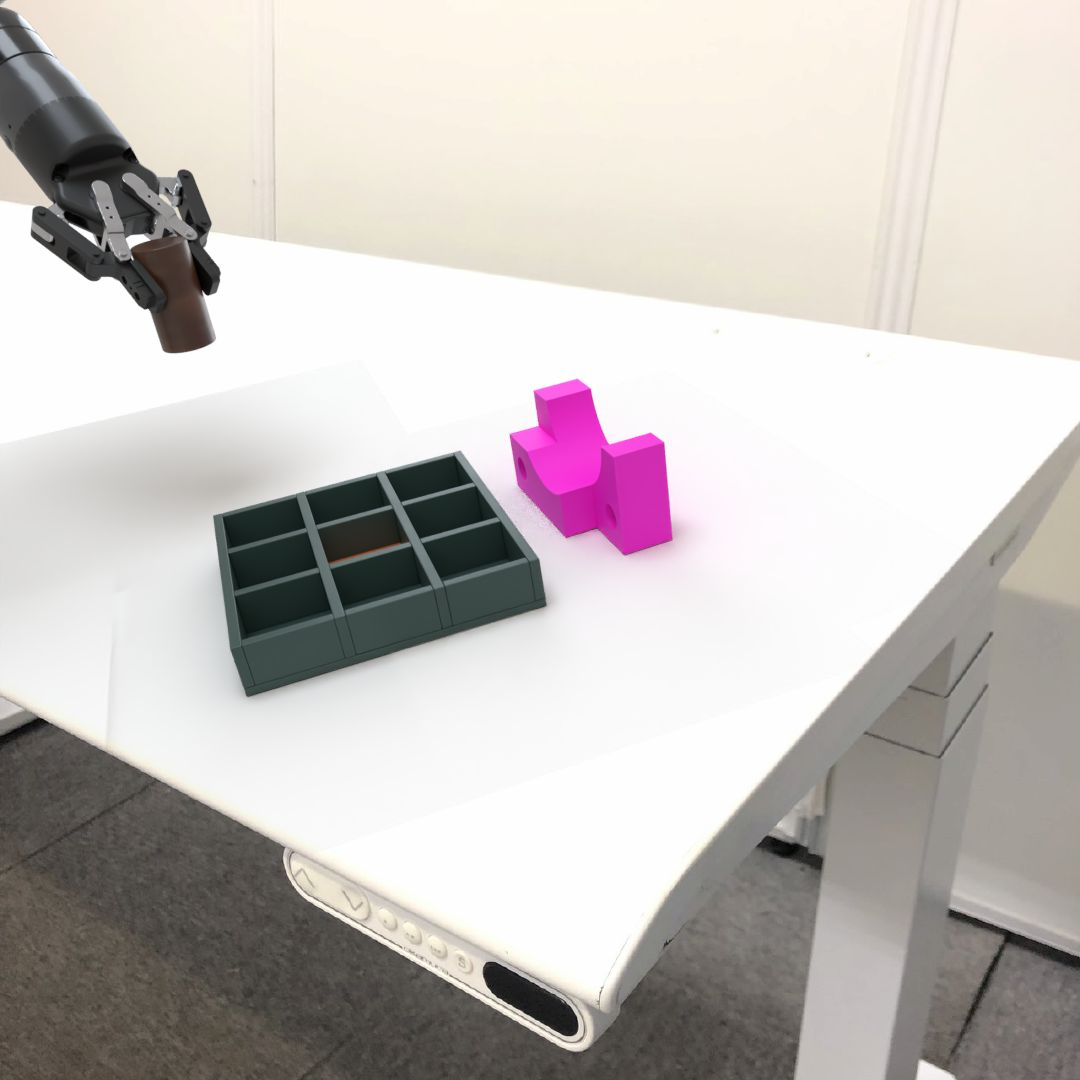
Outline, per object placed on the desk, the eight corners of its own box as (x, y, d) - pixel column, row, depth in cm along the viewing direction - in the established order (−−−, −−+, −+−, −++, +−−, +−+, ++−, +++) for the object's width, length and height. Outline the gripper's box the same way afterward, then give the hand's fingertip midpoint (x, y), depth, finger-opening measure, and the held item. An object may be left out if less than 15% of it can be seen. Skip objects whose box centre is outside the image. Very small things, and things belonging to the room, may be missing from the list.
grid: (246, 697, 63) (229, 649, 61) (226, 556, 80) (212, 515, 78) (547, 605, 67) (539, 558, 66) (468, 490, 84) (460, 450, 82)
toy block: (517, 484, 84) (503, 398, 80) (588, 464, 85) (577, 378, 81) (591, 565, 71) (578, 467, 67) (672, 539, 73) (664, 442, 69)
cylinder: (163, 357, 80) (129, 254, 76) (162, 343, 83) (130, 244, 79) (218, 345, 81) (187, 242, 77) (214, 331, 84) (185, 232, 80)
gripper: (-32, 111, 73) (109, 293, 72) (145, 78, 82) (275, 239, 80) (-33, 187, 79) (98, 357, 77) (133, 148, 88) (253, 300, 86)
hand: (187, 296), depth 79 cm, fingers closed on cylinder, 4 cm apart
